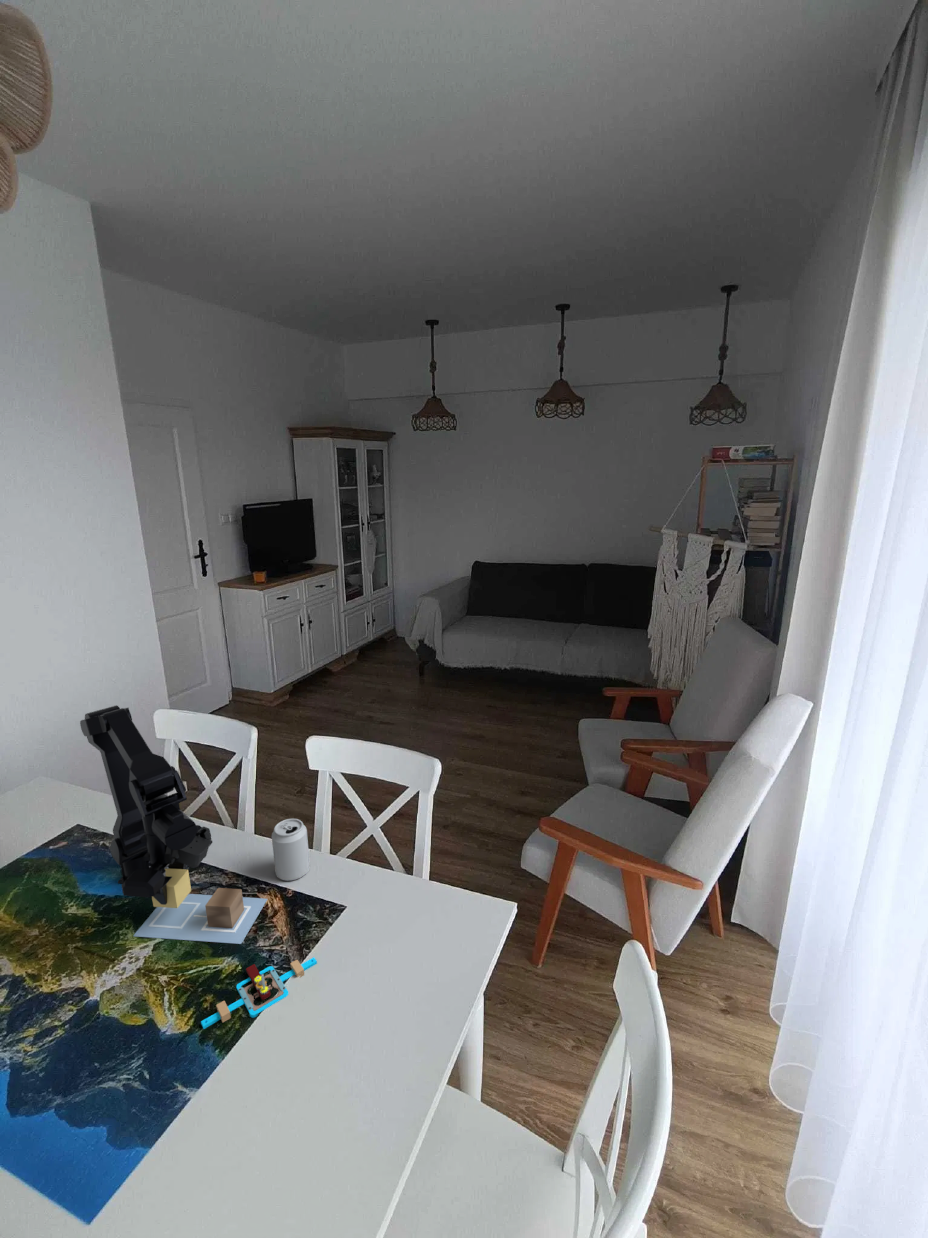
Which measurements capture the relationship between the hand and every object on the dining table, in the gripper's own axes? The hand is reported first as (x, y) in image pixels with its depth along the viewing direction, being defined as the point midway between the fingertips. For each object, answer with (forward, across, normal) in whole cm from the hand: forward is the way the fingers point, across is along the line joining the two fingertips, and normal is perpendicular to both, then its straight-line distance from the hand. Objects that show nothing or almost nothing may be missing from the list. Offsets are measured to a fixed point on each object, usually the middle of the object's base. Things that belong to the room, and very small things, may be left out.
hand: (171, 894), depth 117 cm
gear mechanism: (+6, -15, -25) cm, 30 cm away
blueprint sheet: (+5, 0, -6) cm, 8 cm away
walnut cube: (+5, 0, -11) cm, 12 cm away
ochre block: (+1, 0, 0) cm, 1 cm away
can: (+6, +15, -19) cm, 25 cm away
